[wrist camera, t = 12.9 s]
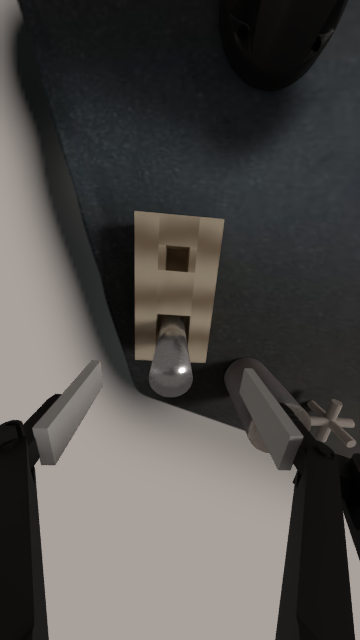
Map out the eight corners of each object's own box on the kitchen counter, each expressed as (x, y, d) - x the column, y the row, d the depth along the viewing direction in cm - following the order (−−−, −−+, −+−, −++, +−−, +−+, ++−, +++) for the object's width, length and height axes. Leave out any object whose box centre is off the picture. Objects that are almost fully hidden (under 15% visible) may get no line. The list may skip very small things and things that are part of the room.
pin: (162, 309, 32) (149, 358, 15) (184, 311, 32) (194, 360, 15) (161, 329, 33) (148, 396, 16) (182, 330, 33) (190, 398, 16)
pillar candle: (269, 385, 40) (323, 451, 25) (229, 399, 40) (260, 470, 26) (259, 350, 37) (314, 401, 23) (217, 365, 38) (244, 424, 23)
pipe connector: (322, 420, 43) (364, 463, 34) (285, 418, 43) (317, 461, 33) (337, 387, 41) (387, 424, 31) (297, 384, 40) (336, 421, 30)
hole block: (143, 223, 29) (134, 210, 22) (213, 230, 30) (224, 219, 23) (142, 342, 35) (135, 359, 29) (199, 345, 36) (205, 362, 29)
